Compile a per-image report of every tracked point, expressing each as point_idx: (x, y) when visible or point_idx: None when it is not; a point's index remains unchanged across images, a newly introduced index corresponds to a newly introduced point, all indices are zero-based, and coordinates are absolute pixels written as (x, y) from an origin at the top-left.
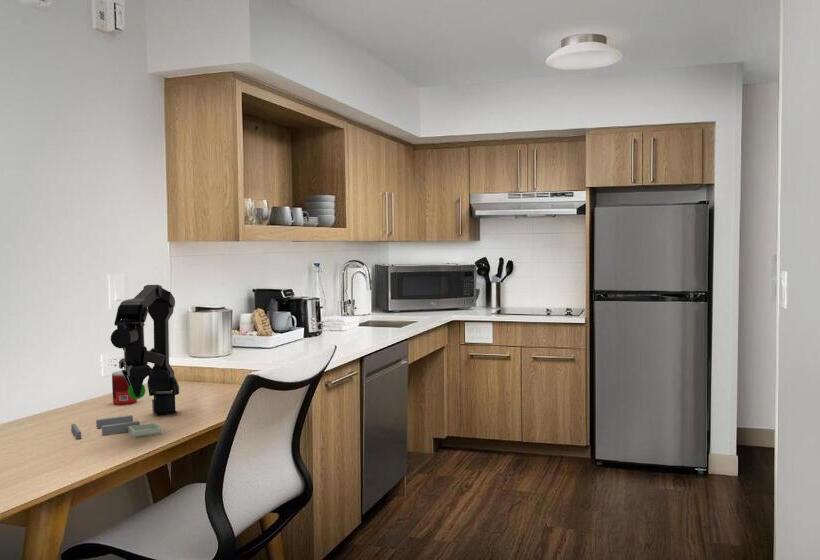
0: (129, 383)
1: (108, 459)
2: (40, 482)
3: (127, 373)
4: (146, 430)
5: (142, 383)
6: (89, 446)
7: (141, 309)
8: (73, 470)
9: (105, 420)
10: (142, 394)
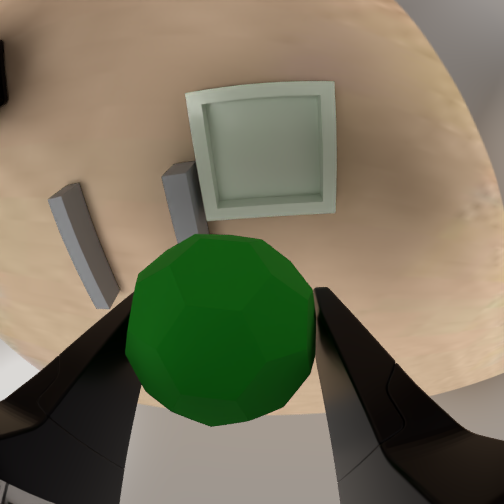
0: (129, 407)
1: (483, 288)
2: (484, 362)
3: (103, 497)
4: (336, 155)
5: (420, 391)
6: None
7: None
8: (481, 336)
9: (100, 284)
10: (291, 266)
